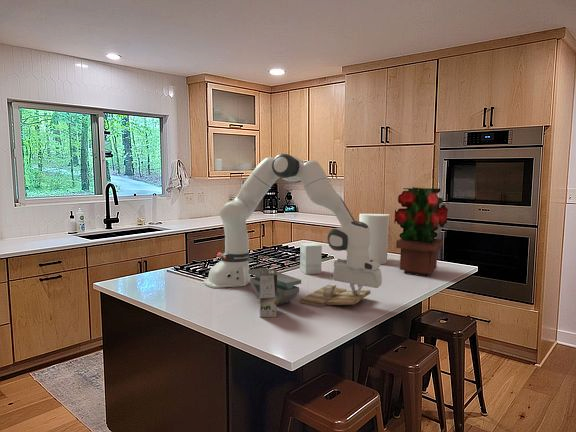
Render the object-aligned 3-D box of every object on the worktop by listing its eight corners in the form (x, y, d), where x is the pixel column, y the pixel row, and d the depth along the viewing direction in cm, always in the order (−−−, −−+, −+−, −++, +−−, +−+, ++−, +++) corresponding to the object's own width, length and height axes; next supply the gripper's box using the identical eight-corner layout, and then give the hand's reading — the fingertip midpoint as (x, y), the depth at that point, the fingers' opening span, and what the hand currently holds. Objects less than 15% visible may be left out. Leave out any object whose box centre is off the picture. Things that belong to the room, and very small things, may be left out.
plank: (354, 304, 172) (353, 300, 172) (326, 305, 178) (325, 301, 178) (370, 293, 187) (370, 290, 187) (344, 294, 193) (343, 291, 193)
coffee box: (276, 317, 163) (277, 275, 161) (259, 317, 163) (260, 275, 161) (275, 309, 172) (276, 268, 170) (259, 309, 172) (259, 268, 170)
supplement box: (315, 269, 237) (316, 242, 235) (321, 273, 229) (322, 245, 227) (299, 270, 234) (300, 242, 232) (305, 274, 226) (306, 245, 224)
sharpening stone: (248, 294, 190) (248, 270, 189) (262, 291, 195) (263, 267, 194) (285, 310, 171) (286, 283, 170) (300, 306, 176) (301, 279, 175)
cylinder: (389, 264, 253) (392, 216, 249) (359, 263, 253) (361, 215, 249) (383, 257, 270) (386, 212, 266) (355, 257, 270) (357, 211, 267)
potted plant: (434, 280, 221) (440, 190, 215) (391, 273, 232) (396, 188, 226) (443, 271, 240) (449, 188, 235) (403, 265, 251) (407, 186, 245)
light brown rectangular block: (321, 307, 176) (322, 293, 175) (300, 302, 181) (300, 289, 180) (346, 292, 196) (346, 280, 195) (326, 288, 201) (326, 277, 201)
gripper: (331, 259, 182) (329, 291, 184) (378, 266, 171) (376, 301, 173) (337, 256, 187) (336, 288, 189) (384, 263, 177) (382, 297, 178)
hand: (355, 294), depth 181 cm, fingers closed
